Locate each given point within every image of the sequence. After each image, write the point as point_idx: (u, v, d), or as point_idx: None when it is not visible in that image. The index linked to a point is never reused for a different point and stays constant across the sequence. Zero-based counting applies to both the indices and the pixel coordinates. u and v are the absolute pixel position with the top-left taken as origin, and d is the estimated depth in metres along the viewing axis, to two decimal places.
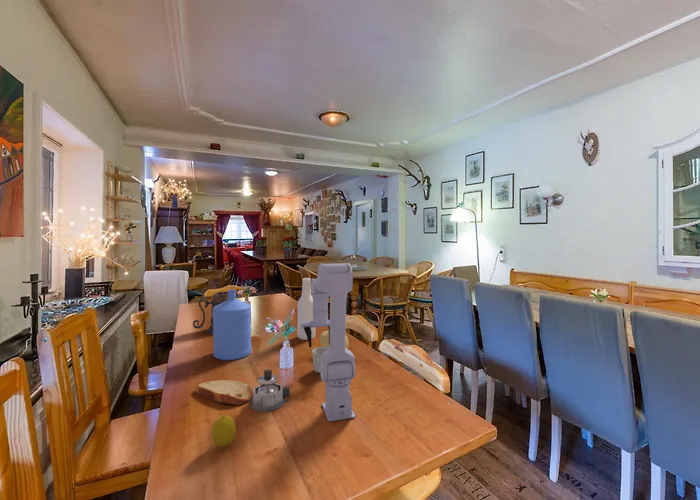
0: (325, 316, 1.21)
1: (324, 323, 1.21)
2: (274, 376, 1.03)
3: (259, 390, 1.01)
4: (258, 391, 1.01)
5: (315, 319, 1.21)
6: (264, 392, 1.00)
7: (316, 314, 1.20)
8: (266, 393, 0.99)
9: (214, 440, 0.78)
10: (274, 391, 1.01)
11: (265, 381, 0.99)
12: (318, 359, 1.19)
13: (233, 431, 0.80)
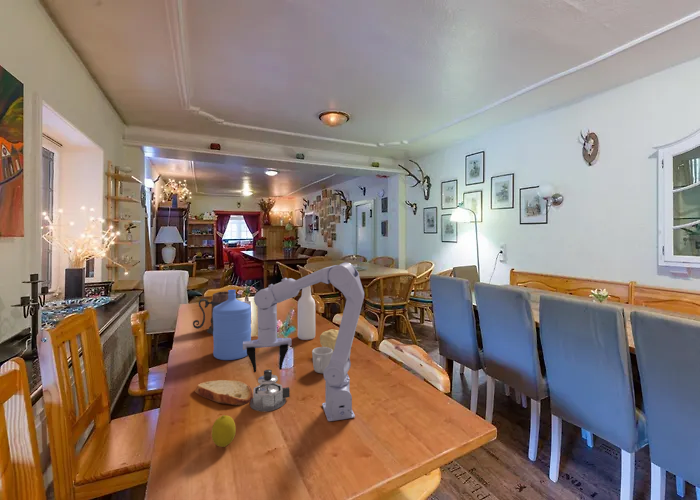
0: (272, 334, 0.99)
1: (271, 343, 0.98)
2: (274, 376, 1.03)
3: (259, 390, 1.01)
4: (258, 391, 1.01)
5: (259, 337, 0.98)
6: (264, 392, 1.00)
7: (261, 332, 0.98)
8: (266, 393, 0.99)
9: (214, 440, 0.78)
10: (274, 391, 1.01)
11: (265, 381, 0.99)
12: (318, 359, 1.19)
13: (233, 431, 0.80)
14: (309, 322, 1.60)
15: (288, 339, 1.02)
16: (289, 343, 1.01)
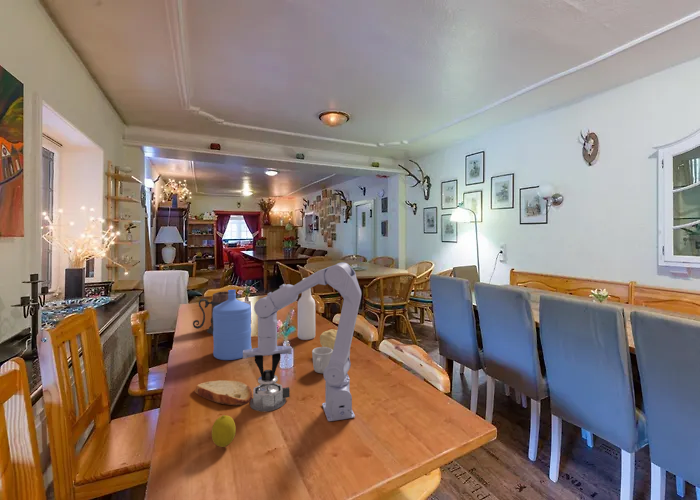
0: (273, 343, 0.99)
1: (271, 351, 0.98)
2: (274, 376, 1.03)
3: (259, 390, 1.01)
4: (258, 391, 1.01)
5: (260, 346, 0.98)
6: (264, 392, 1.00)
7: (261, 340, 0.98)
8: (266, 393, 0.99)
9: (214, 440, 0.78)
10: (274, 391, 1.01)
11: (265, 381, 0.99)
12: (318, 359, 1.19)
13: (233, 431, 0.80)
14: (309, 322, 1.60)
15: (288, 347, 1.02)
16: (289, 351, 1.02)
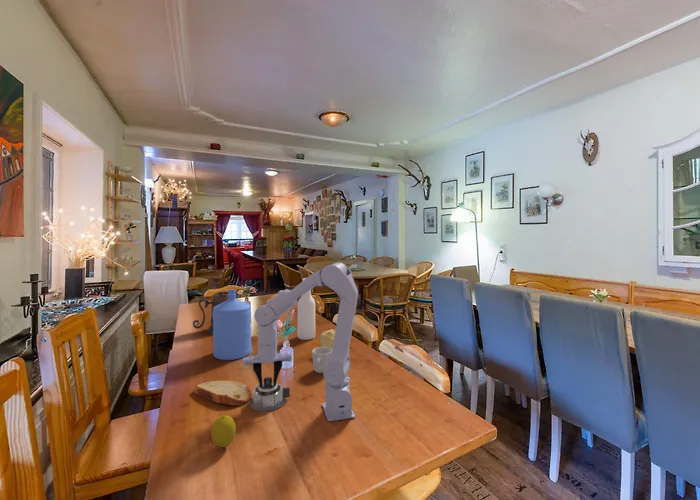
0: (273, 350, 0.99)
1: (271, 359, 0.99)
2: None
3: None
4: None
5: (260, 354, 0.99)
6: None
7: (261, 348, 0.98)
8: None
9: (214, 440, 0.78)
10: None
11: (265, 389, 0.99)
12: (318, 359, 1.19)
13: (233, 431, 0.80)
14: (309, 322, 1.60)
15: (288, 355, 1.02)
16: (289, 359, 1.02)
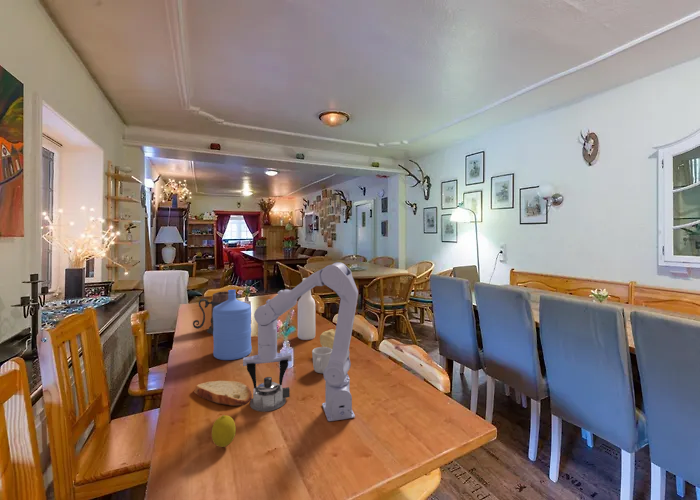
0: (273, 350, 0.99)
1: (271, 359, 0.99)
2: (274, 383, 1.03)
3: None
4: None
5: (260, 353, 0.99)
6: None
7: (261, 348, 0.98)
8: None
9: (214, 440, 0.78)
10: None
11: (265, 389, 0.99)
12: (318, 359, 1.19)
13: (233, 431, 0.80)
14: (309, 322, 1.60)
15: (288, 354, 1.02)
16: (289, 359, 1.02)
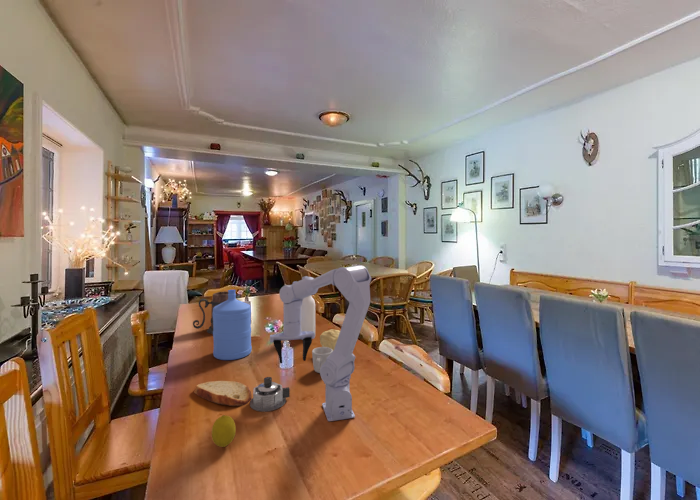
0: (298, 327, 1.05)
1: (296, 336, 1.05)
2: (274, 383, 1.03)
3: None
4: None
5: (286, 330, 1.05)
6: None
7: (287, 325, 1.05)
8: None
9: (214, 440, 0.78)
10: None
11: (265, 389, 0.99)
12: (318, 359, 1.19)
13: (233, 431, 0.80)
14: (309, 322, 1.60)
15: (311, 332, 1.09)
16: (312, 336, 1.08)
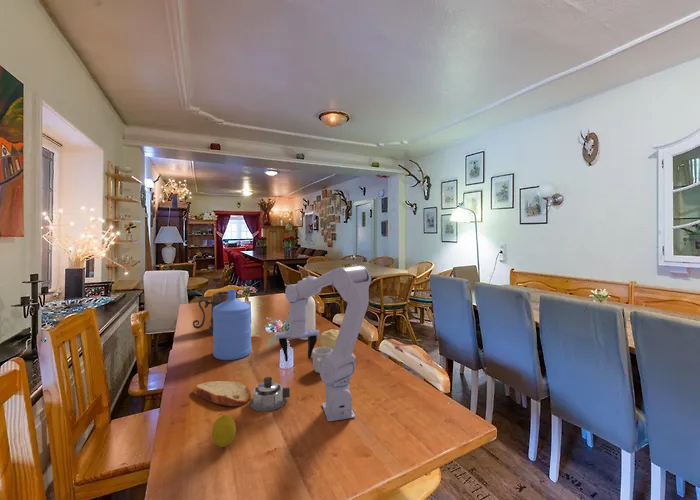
0: (303, 326, 1.07)
1: (302, 334, 1.07)
2: (274, 383, 1.03)
3: None
4: None
5: (291, 329, 1.07)
6: None
7: (293, 324, 1.06)
8: None
9: (214, 440, 0.78)
10: None
11: (265, 389, 0.99)
12: (318, 359, 1.19)
13: (233, 431, 0.80)
14: (309, 322, 1.60)
15: (316, 331, 1.11)
16: (317, 334, 1.10)
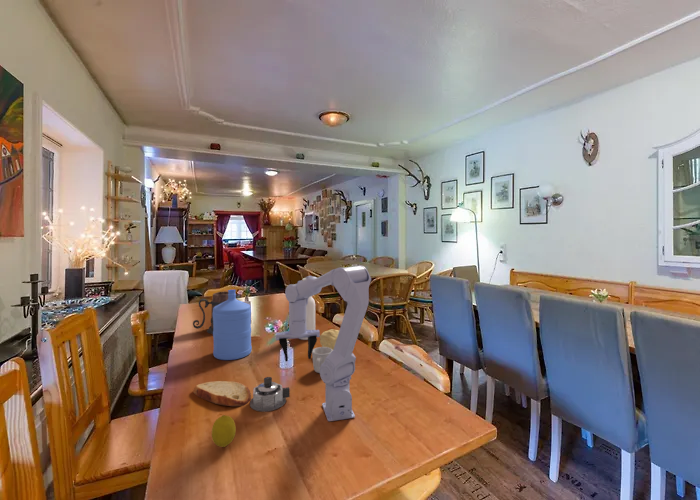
0: (303, 326, 1.07)
1: (302, 334, 1.07)
2: (274, 383, 1.03)
3: None
4: None
5: (291, 329, 1.07)
6: None
7: (293, 324, 1.06)
8: None
9: (214, 440, 0.78)
10: None
11: (265, 389, 0.99)
12: (318, 359, 1.19)
13: (233, 431, 0.80)
14: (309, 322, 1.60)
15: (316, 331, 1.11)
16: (317, 334, 1.10)
